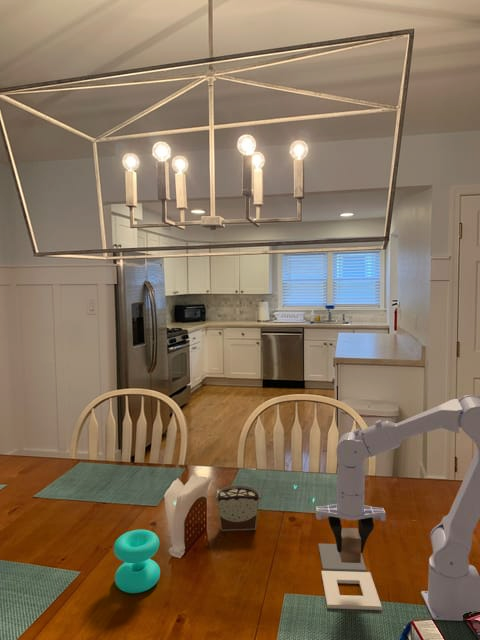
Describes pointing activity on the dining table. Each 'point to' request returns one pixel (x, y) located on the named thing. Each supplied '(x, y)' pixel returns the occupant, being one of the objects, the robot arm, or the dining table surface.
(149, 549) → the turquoise spool
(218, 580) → the dining table surface
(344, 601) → the pocket plate
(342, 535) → the block
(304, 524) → the dining table surface
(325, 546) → the mat
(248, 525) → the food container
